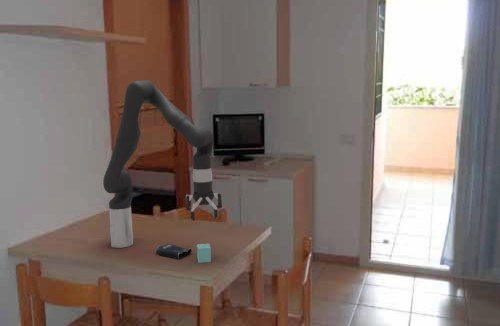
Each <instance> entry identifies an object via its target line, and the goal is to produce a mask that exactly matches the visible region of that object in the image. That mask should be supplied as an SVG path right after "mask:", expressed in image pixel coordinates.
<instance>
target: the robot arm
mask: <svg viewBox="0 0 500 326" xmlns="http://www.w3.org/2000/svg"><path fill="white" fill-rule="evenodd" d="M124 96H125V97H124V102H123V109H122V114H121V118H120V123H119V126H118V130H117V134H116V137H115V142H114V147H113V150H112V153H111V157H110V160H109V163H108V166H107V168H106V171H105V174H104V176H103V183H102V184H103V188H104V189H103V190H105V192H106V193H108V194H115V196H113V198H112V199H110V200H109V202H108V208H109V209H108V211H109V223H110V225H109V231H110V233H109V234H110V246H111V248H115V249H116V248H117V249H120V248H121V249H122V248H128V247H131V246H132V245H134V236H133V220H132V219H133V218H132V201H133V180H132V176H131V174H130V172H129V171H128V170H126V169H124V167H125V165H126V164H127V162H128V161H130V160H131V158H132V157H133V155H134V154H135V152H136V151H137V149H138V146H139V143H140V139H141V135H142V134H141V126H140V122H139V115H140V112H141V110H142V109H141V108H142V106H143V104H150V105H152V106H153V107H155V109H157V110H158V111H159V112H160V114H162V117H163V118H164V120H165V122H166V123H167V124H168V125H169V126H171V127H172V128H173V129H174V130H175V131H177V132H178V133H179V134H181V136H182V137H183V139H185V141H186V142H187V143H188V144H189V145H190V146H192V147H193V148H195V149H196V152H195V154H194V155H193V156H192V167H193V168H192V182H193V183H192V185H193V187H192V188H193V193H192V194H187V193H186V194H185V210H186V211H189V213H190V219H191V220H192V221H193V222H194V221H195V219H196V217H195V210H196V208H198V206H204V205H205V206H208V205H210V206H211V207H212V208H213V209H212V210H213V211H212V212H213V219H214V220H216V219H217V218H218V210H219V209H222V207H223V203H222V194H221V192H215V193H214V190H213V188H214V187H213V172H212V160H211V159H212V158H211V157H212V153H213V147H214V135H213V133H212V131H211V130H210V129H209V128H205V127H204V128H197V127H196V126H195V125H194V124H195V123H194V121H193V119H191V118H190V117H189V116H188V114H187V115H186V113H185V112H183V111H182V110H180V109H179V108H178V107H177V106H175V105H174V104H173V103H172V102H171V101H170V100H169V99H168V98H167V97H166V96H165V94H163V93H162V92H161V91H160V90H159V88H158V87H157V86H156V85H155V84H154V83H153V82H151V81H150V80H149V79H147V80H146V79H143V80H142V79H141V80H136V81H135V80H134V81H132V82H130V83H129V84H128V85H127V87H126V90H125V95H124ZM214 197H215V199H216V200H217V205H216V204H215V202H214V201H213V199H214ZM192 199H193V200H194V201H193V204H192V205H191V206H190V201H192Z"/></svg>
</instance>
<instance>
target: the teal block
mask: <svg viewBox="0 0 500 326" xmlns="http://www.w3.org/2000/svg"><path fill="white" fill-rule="evenodd" d="M211 252H212V249H211V245H210V243H200V244H196V258H197V259H196V260H197V262H198V264H201V263H202V264H203V263H211V262H212V253H211Z"/></svg>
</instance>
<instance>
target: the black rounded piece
mask: <svg viewBox="0 0 500 326" xmlns="http://www.w3.org/2000/svg"><path fill="white" fill-rule="evenodd" d="M155 252H156V253H157V254H158V255H160V256H163V257H167V258H172V259H178V260H180V259H183V258H185V257H187V256H188V255H191V254H192V252H193V250H192V248H191V247H188V248H186V247H182V246H179V245H176V244H173V243H164V244H159V245H158V246H157V247H156V249H155Z"/></svg>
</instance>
